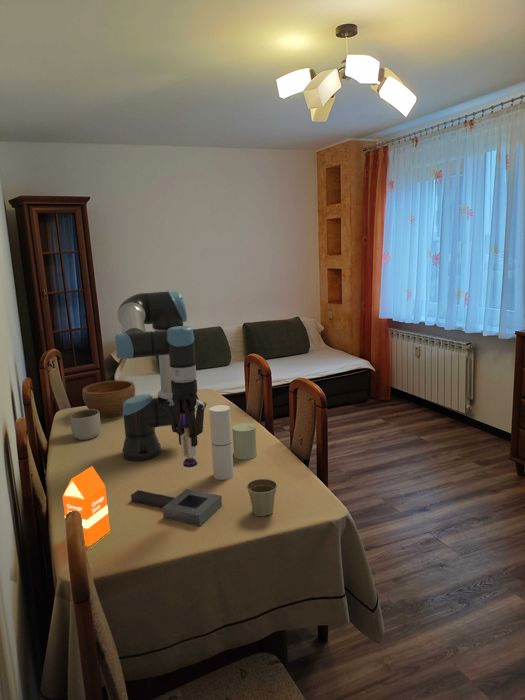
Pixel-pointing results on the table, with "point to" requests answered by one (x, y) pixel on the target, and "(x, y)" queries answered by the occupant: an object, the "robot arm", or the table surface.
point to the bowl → (108, 396)
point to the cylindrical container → (221, 442)
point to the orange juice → (88, 504)
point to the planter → (85, 424)
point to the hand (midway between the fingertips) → (189, 455)
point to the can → (244, 441)
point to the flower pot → (262, 496)
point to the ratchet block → (182, 505)
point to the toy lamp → (186, 439)
